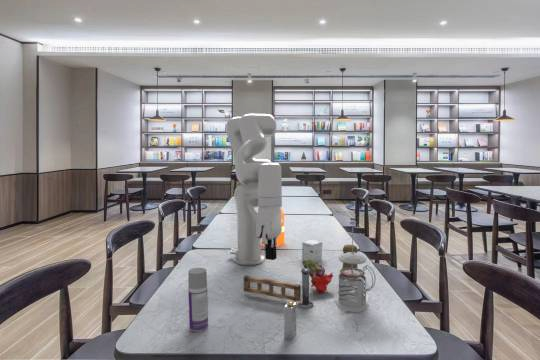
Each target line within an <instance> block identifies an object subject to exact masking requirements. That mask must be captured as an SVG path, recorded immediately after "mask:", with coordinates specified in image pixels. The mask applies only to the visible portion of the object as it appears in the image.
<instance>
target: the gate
mask: <svg viewBox="0 0 540 360" xmlns="http://www.w3.org/2000/svg"><path fill="white" fill-rule="evenodd" d="M251 283H255V284H256V285H257V286H256V287H255V286H251ZM263 285H267V286H268V289H265V288H262V286H263ZM274 287H278V288H281V289H280V291H276V290H274ZM301 287H302V284H299V283H294V282H288V281H281V280H276V279H269V278H263V277H258V276H257V277H256V276H251V275H244V276H243V292H245V293H247V292H248V293H251V294H257V295H263V296H266V297H267V296H268V297H273V298H278V299H284V300H287V301H293V302H300V301H302V299H301V298H302V294H301V293H302V288H301ZM286 289H289V290H293V293H287V292H286V291H287V290H286Z"/></svg>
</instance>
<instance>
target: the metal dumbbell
mask: <svg viewBox="0 0 540 360" xmlns="http://www.w3.org/2000/svg"><path fill="white" fill-rule="evenodd" d="M300 272H301V273H302V274H301V278H302V279H301V281H302V282H301V283H302V284H301V287H302V288H301V293H302V294H301V298H302V299H301V300H300V301H297V302H298V303H297V306H298V307H299V308H301V309H311V308H313V307H314V303H313V301H311V300H310V275H309V273H310V269H308V268H304V267H303V268H301V270H300Z"/></svg>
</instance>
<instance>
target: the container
mask: <svg viewBox="0 0 540 360" xmlns="http://www.w3.org/2000/svg"><path fill="white" fill-rule="evenodd" d="M187 279H188V281H187V282H188V284H187V285H188V286H187V287H188V290H187V292H188V320H189V322H188V323H189V330H190V331H191V332H193V331H194V332H193V333H201V332H200V331H202V332H204V331H206V330H207V329H208V328H209V310H208V307H209V306H208V305H209V302H208V298H209V297H208V280H207V279H208V278H207V269H206V268H205V267H193V268H190V269H188V277H187Z"/></svg>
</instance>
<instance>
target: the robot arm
mask: <svg viewBox="0 0 540 360" xmlns="http://www.w3.org/2000/svg"><path fill="white" fill-rule="evenodd" d="M276 131H277V121H276V119H275V117H274V116H273V115H272V114H268V113H247V114H244V115H242V116H235V117H231V118H229V119H228V120H227V122H226V135H227V140H228V142H229V145H230V146H231V149H232V151H233V152H232V153H233V161H234V168H235V176H236V179H237V180H238V181H239V183H240V185H238V186H237V187H236V188H235V189H234V193H233V194H234V200H235V201H234V202H235V207H236V222H237V223H236V226H237V229H236V231H237V233H236V234H237V248H235V247H231V248H230V251H229V254H230V255H235V256H234V258H233V261H234V263H236V264H237V265H240V266H255V265H259V264H262V263H264V262H265V260H270V261H274V260H276V259H277V257H278V256H277V247H276V246H277V238H278V237H279V235H280V234H281V232H282V216H281V210H282V207H283V191H282V189H283V188H282V178H283V177H282V166H281V164H280V163H277V162H272V161H271V160H269V159H266V158H258V159H257V158H255V156H257V155H259V154H260V153H262V152H264V151H265V150H266V147H267V143H268V142H267V138H268V137H272V136H274V135H275V134H276V133H277V132H276ZM255 208H258V209H257V211H256V210H255ZM262 244H264V245H265V246H264V248H265V253H264V254H263V255H262ZM264 255H265V256H264Z"/></svg>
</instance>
